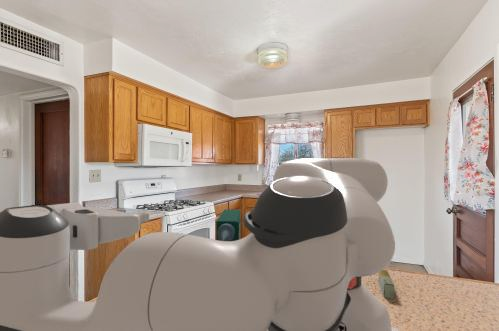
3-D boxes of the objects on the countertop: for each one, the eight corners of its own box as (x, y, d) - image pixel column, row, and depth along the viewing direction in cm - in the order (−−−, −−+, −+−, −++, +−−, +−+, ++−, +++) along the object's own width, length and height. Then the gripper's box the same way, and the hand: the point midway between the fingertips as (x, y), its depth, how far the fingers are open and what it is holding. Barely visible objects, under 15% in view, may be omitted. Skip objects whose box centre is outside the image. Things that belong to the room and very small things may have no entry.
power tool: (236, 301, 73) (236, 228, 73) (211, 301, 73) (210, 228, 73) (242, 260, 105) (242, 209, 105) (224, 259, 105) (224, 209, 105)
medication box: (394, 299, 74) (394, 285, 74) (383, 298, 75) (384, 283, 75) (387, 281, 86) (387, 269, 86) (377, 280, 87) (378, 268, 87)
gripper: (48, 234, 57) (112, 222, 69) (93, 252, 45) (162, 234, 57) (48, 205, 57) (112, 198, 69) (92, 215, 45) (161, 204, 57)
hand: (135, 214), depth 63 cm, fingers open, 8 cm apart
